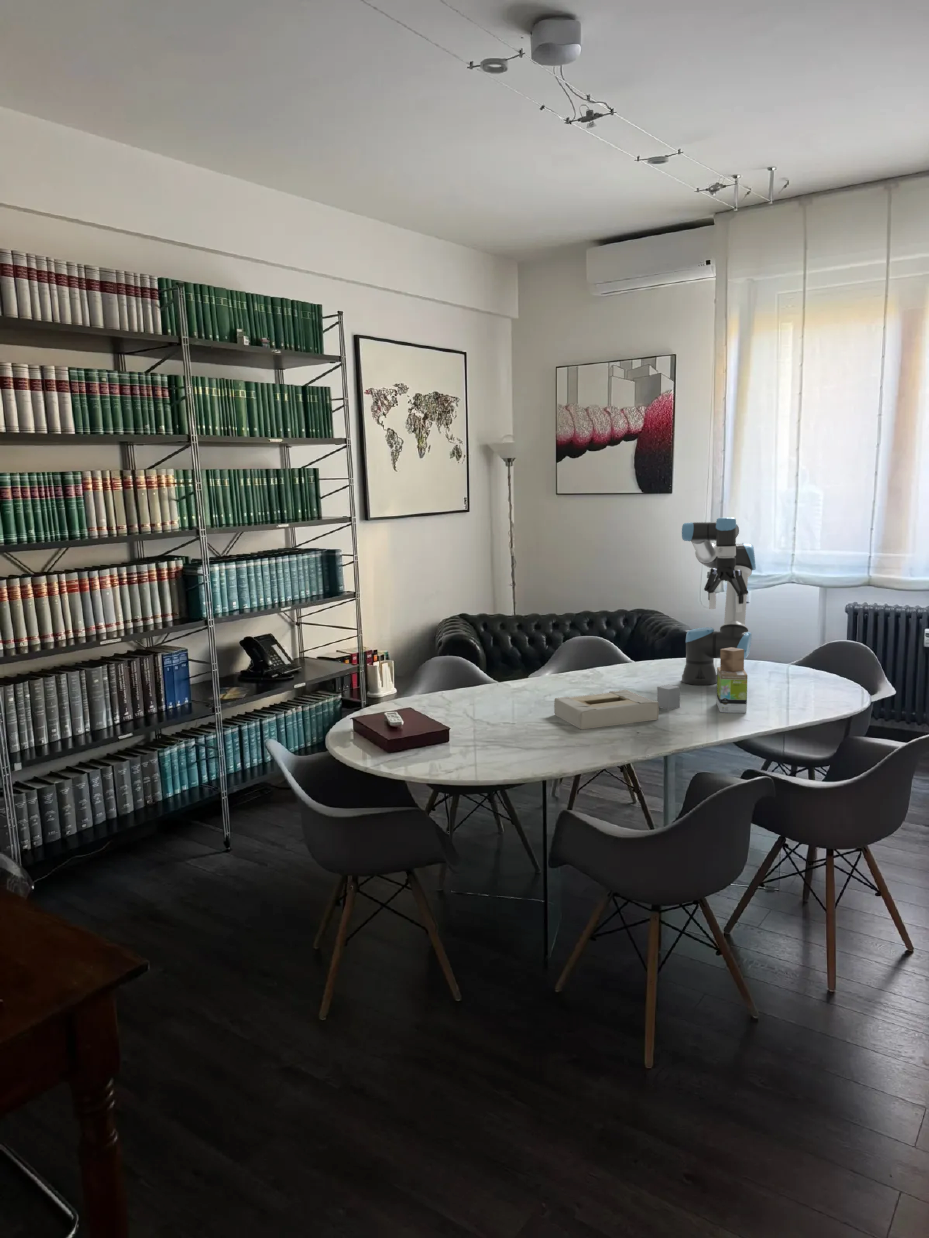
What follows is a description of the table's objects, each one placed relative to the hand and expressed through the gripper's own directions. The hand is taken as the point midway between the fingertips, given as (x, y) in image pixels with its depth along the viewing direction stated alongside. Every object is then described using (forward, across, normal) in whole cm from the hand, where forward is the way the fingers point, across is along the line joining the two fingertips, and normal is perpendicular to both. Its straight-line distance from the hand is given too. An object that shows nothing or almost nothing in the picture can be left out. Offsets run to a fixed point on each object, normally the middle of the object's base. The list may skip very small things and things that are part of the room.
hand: (725, 610), depth 340 cm
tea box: (+35, +15, -13) cm, 40 cm away
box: (+35, -5, -59) cm, 69 cm away
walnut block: (+20, +15, -13) cm, 28 cm away
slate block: (+35, -1, -30) cm, 46 cm away
